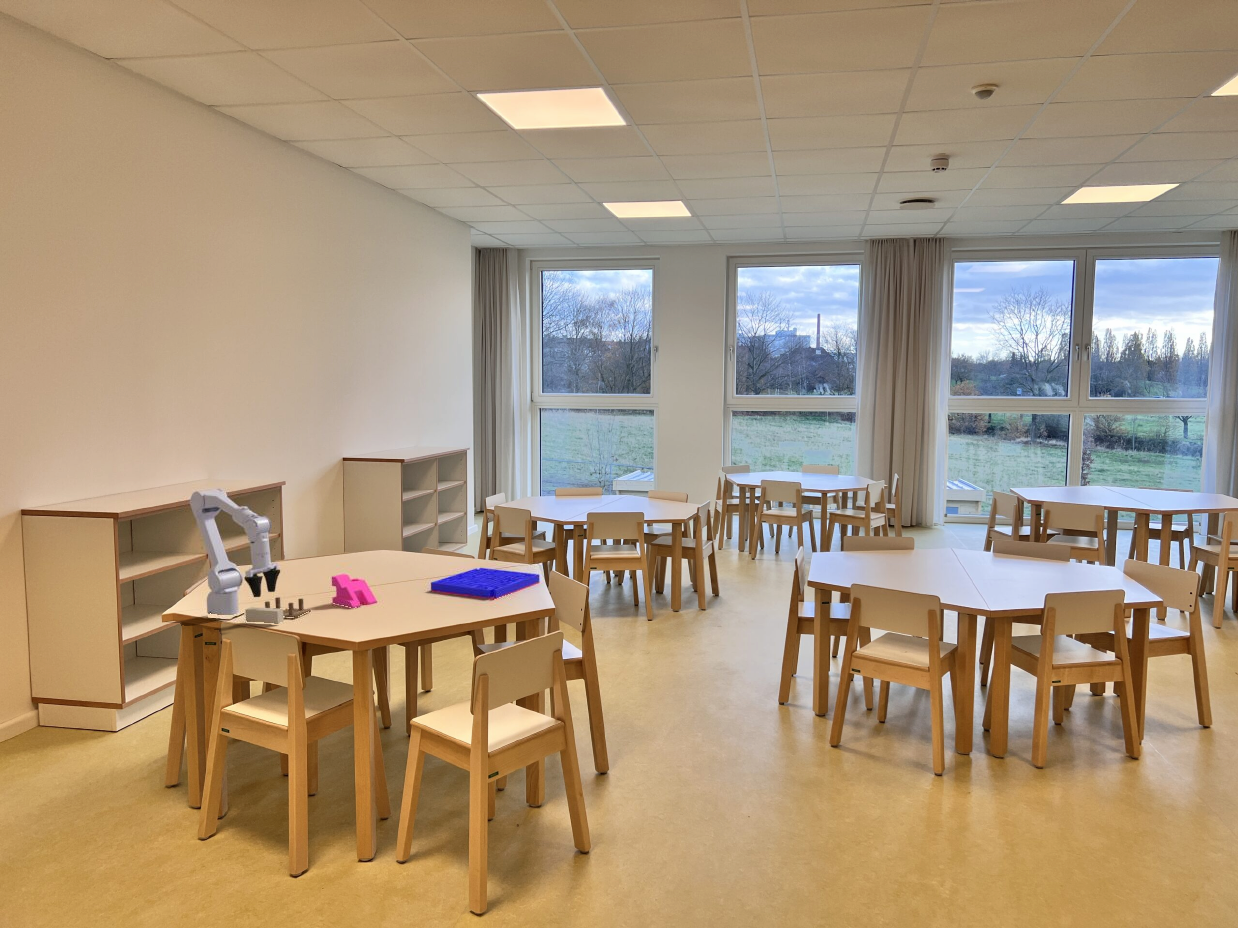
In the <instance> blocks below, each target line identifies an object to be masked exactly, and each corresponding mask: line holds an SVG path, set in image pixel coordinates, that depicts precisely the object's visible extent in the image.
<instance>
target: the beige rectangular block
mask: <svg viewBox="0 0 1238 928" xmlns="http://www.w3.org/2000/svg"><path fill="white" fill-rule="evenodd" d="M244 611H245V612H244V613H245V622H246V621H247V622H264V623H274V624H279V623H280V622H283V621H284V620H285V619H284V618H283V609H276V608H274V607H270V608H265V607H256V606H255V607H254V606H250V607H248V608H246V609H245V610H244Z"/></svg>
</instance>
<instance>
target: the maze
mask: <svg viewBox="0 0 1238 928" xmlns="http://www.w3.org/2000/svg"><path fill="white" fill-rule="evenodd" d="M538 584H540V574H539V573H531V572H530V573H528V572H521V571H513V570H512V571H511V570H504V569H496V568H495V569H494V568H487V567H480V568H473V569H470V570H466V571H464V572H460V573H457V574H453V575H451V576H448V577H444V578H441V579H437V580H434V581H431V582H430V591H431V592H433V593H441V594H448V595H454V594H455V596H462V595H463V597H469V596H471V598H477V597H479V598H478V599H484V598H488V599H487V600H491V599H496V600H498V599H500V598H499V597H501V598H503V597H502V596H504V597H506V596H509V595H512V594H514V593H516V592H517V593H518V592H519V591H522V590H524V589H527V588H530V587H532V586H536V585H538ZM511 593H512V594H511ZM508 594H509V595H508ZM505 595H506V596H505ZM497 598H498V599H497Z"/></svg>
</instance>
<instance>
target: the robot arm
mask: <svg viewBox="0 0 1238 928" xmlns="http://www.w3.org/2000/svg"><path fill="white" fill-rule="evenodd" d="M189 506H190V507H191V510H192V514H193V517H194V518H195V519H196V523H197V526H198V529H199V532H200V535H201V538H202V541H203V544H204V546H205V550H206V552H207V554H208V555H207V556H208V558H209V561H210V564H211V567H210V568H209V570H208V571H207V572H206V576H207V586H208V588H209V589H210V592H209V593H208V594H207V596H206V611H207V612H206V614H207V613H208V614H210V613H211V614H217V615H234V614H237V613H238V612H240V609H239V590H240V587H241V586H242V584H243V582H244V581H245V582H246V583H247V585H248V587H249V589H250V591H251V593H252V596H253V598H260V597H261V595H262V581H263V577H264V580H265V582H266V588H267V591H268V593H272V592H273V593H274V592H275V591H276V586H277V581H278V578H279V575H280V573H281V569H280V568H279V563H278V562H272V561H271V560H272V559H271V549H270V540H269V539H270V538H269V537H270V536H269V533H271V530H272V522H271V520H270V519H269V518H268V517H267V516H266V515H263V516H261V515H260V516H259V514H257V513H255V512H253V511H252V510H250V508H249V507H248V506H243V505H242V506H239V505H238V504H236V503H235V502H234V501H233V500H232V499H230V498H229V497H228V495H227V492H226V491H224V490H222V489H221V488H216V489H210V490H202V491H194V492H193V493H191V496H190V499H189ZM221 510H222V511H223V512H225V513H227V514H229V515H231V518H232V520H233V522H235V523H236V524H237V525H239V526H240V527H242V528H243V529H244V532H245V534H246V536H247V540H248V542H249V544H250V545H249V546H250V556H251V565H252V567H251V568H249V569H248V570H245V571H244V573H245V576H243V573H242V572H241V571H240V570H239V568H238V565H237V564H236V563H234V562H232V561H231V560H229V558H228V555H227V552H226V550H225V546H224V544H223V541H222V538H221V535H220V533H219V532H220V531H219V529H218V527H217V526H218V525H217V523H216V520H215V517H216V516H218V514H219V513H220V512H221ZM260 574H262V575H263V576H262V575H260Z"/></svg>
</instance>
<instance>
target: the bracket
mask: <svg viewBox="0 0 1238 928" xmlns="http://www.w3.org/2000/svg"><path fill="white" fill-rule="evenodd" d="M331 587H335V595H336V596H333V597H332V599H331V601H332V604H333V603H335V604H339V605H344V606H348V607H351V608H355V607H359V608H361V607H362V604H363V603H365V604H364V605H367V604H368V606H371V605H373V604H378V600H377V599H376V596H375V595H374V593H373V592H372V590H371V588H370V587H369V585H368V584H367V582H366V580H365V579H362V578H358V577H357V578H356V577H355V578H350V575H349V574H346V573H342V574H336V575H331ZM360 603H361V604H360ZM360 606H361V607H360ZM351 608H350V609H351ZM355 609H356V608H355Z"/></svg>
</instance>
